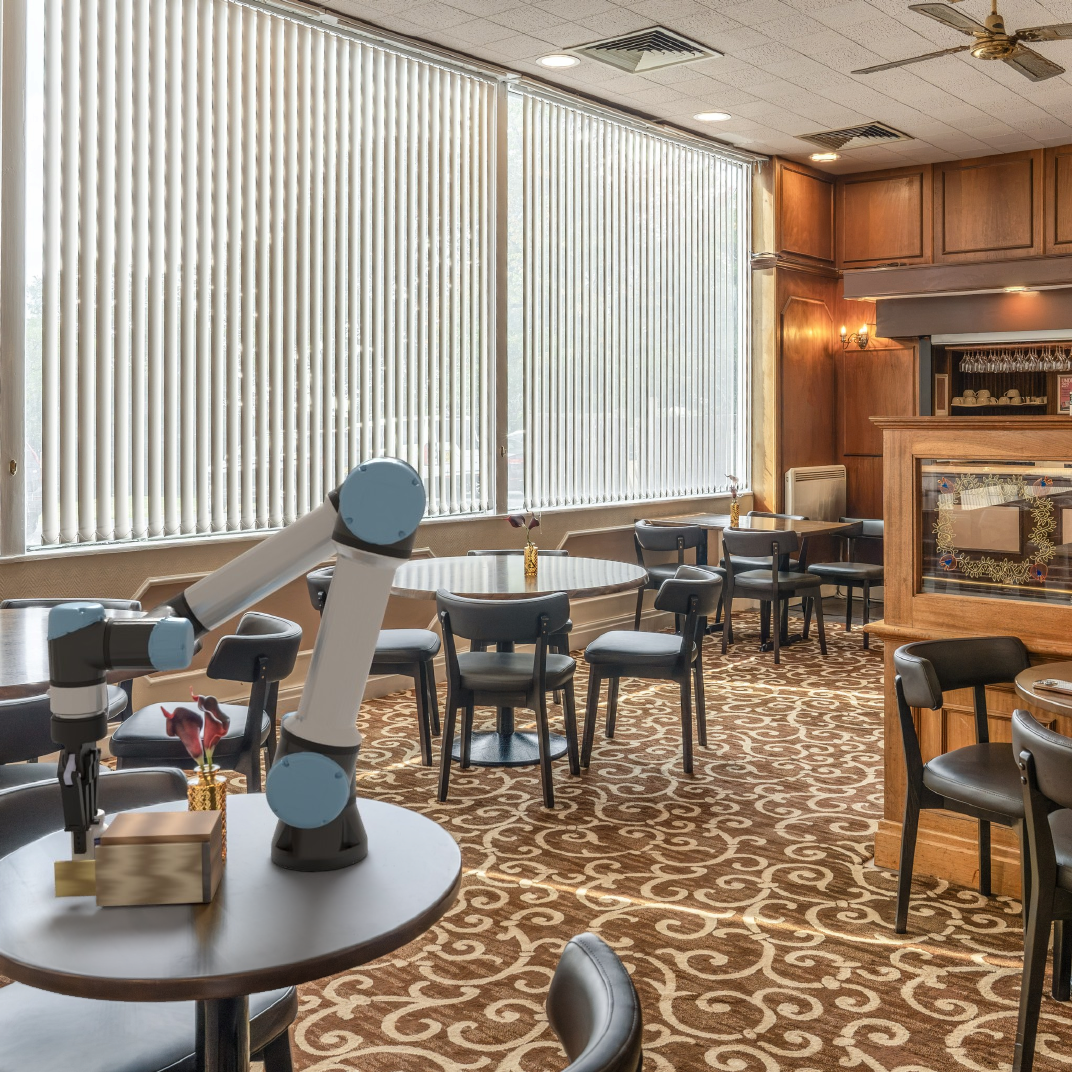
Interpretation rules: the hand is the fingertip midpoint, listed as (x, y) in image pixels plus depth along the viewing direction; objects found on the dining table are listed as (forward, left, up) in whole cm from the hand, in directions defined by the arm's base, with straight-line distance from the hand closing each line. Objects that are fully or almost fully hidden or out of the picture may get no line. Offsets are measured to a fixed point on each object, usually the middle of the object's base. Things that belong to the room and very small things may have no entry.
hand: (83, 872), depth 162 cm
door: (-8, +5, -3) cm, 10 cm away
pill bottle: (+1, -10, -4) cm, 11 cm away
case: (-11, -1, -3) cm, 12 cm away
